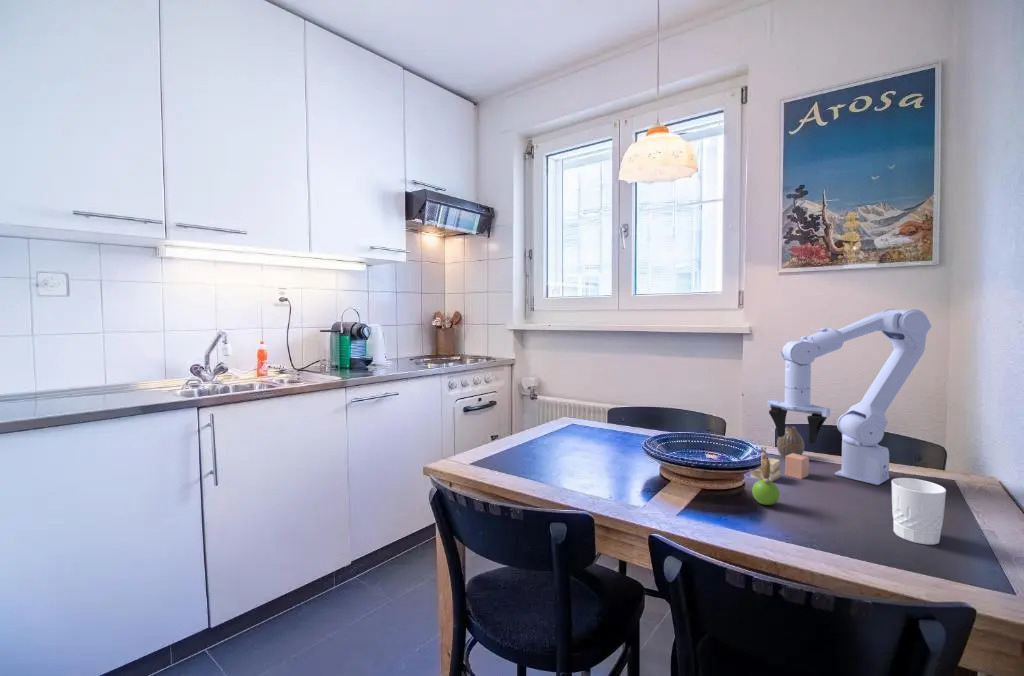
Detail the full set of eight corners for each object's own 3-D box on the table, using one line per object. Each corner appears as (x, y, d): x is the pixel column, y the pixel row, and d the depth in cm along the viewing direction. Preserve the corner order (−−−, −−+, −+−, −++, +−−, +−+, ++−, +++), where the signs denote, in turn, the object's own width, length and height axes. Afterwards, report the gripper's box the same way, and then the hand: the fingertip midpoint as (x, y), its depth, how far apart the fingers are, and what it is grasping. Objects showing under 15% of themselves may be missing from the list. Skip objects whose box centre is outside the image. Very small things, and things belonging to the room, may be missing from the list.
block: (808, 475, 124) (808, 456, 124) (801, 479, 122) (801, 459, 121) (792, 471, 127) (792, 453, 127) (784, 474, 125) (785, 456, 125)
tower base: (779, 479, 123) (780, 469, 122) (770, 483, 120) (770, 474, 120) (760, 474, 127) (760, 464, 127) (750, 478, 124) (750, 468, 124)
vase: (796, 453, 142) (797, 424, 142) (808, 460, 135) (809, 430, 135) (772, 453, 143) (773, 424, 142) (783, 460, 136) (783, 430, 135)
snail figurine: (775, 499, 110) (776, 447, 109) (781, 510, 103) (782, 456, 103) (749, 496, 111) (750, 445, 111) (753, 507, 105) (754, 454, 104)
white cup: (879, 528, 95) (880, 478, 94) (916, 525, 95) (917, 476, 95) (916, 548, 87) (918, 494, 86) (956, 545, 87) (958, 492, 87)
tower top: (779, 469, 123) (779, 459, 123) (772, 474, 119) (773, 464, 119) (758, 465, 126) (759, 455, 126) (751, 469, 123) (752, 460, 123)
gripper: (761, 385, 127) (760, 436, 128) (821, 393, 115) (820, 448, 116) (774, 382, 131) (774, 431, 132) (834, 389, 119) (833, 443, 120)
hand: (796, 439), depth 124 cm, fingers open, 7 cm apart
